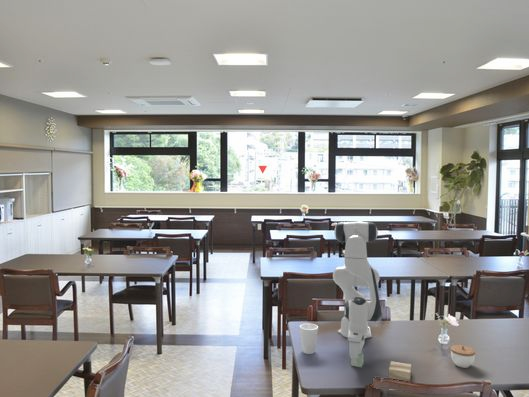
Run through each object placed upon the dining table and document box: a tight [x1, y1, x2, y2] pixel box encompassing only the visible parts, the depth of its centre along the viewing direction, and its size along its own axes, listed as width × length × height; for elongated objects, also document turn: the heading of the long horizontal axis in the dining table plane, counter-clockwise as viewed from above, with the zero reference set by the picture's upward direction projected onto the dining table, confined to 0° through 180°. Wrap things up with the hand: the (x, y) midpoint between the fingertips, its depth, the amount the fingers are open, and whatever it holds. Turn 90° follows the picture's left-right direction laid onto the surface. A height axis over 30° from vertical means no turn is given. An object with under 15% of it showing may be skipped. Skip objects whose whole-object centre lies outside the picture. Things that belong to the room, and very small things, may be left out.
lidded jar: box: [450, 344, 476, 369], centre depth 209 cm, size 11×11×9 cm
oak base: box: [388, 360, 412, 382], centre depth 197 cm, size 9×9×4 cm
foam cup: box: [299, 322, 319, 355], centre depth 223 cm, size 10×9×13 cm
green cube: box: [350, 352, 364, 368], centre depth 208 cm, size 5×5×5 cm
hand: (357, 360), depth 208 cm, fingers open, 7 cm apart
